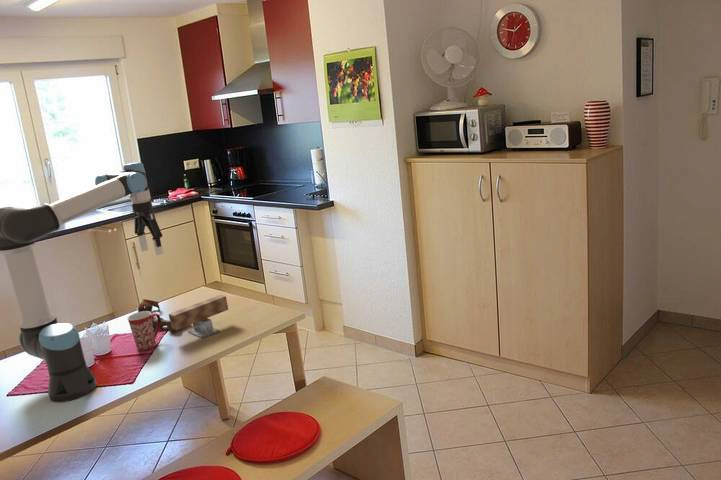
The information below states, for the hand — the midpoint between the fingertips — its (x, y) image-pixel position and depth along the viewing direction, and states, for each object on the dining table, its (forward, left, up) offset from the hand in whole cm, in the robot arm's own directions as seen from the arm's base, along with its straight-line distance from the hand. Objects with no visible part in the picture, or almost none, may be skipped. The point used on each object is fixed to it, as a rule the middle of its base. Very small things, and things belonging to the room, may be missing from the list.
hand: (152, 252), depth 241 cm
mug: (-12, -7, -35) cm, 37 cm away
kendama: (+2, +2, -35) cm, 35 cm away
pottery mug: (+5, +29, -35) cm, 46 cm away
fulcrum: (+8, -15, -35) cm, 39 cm away
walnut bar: (+8, -15, -29) cm, 33 cm away
